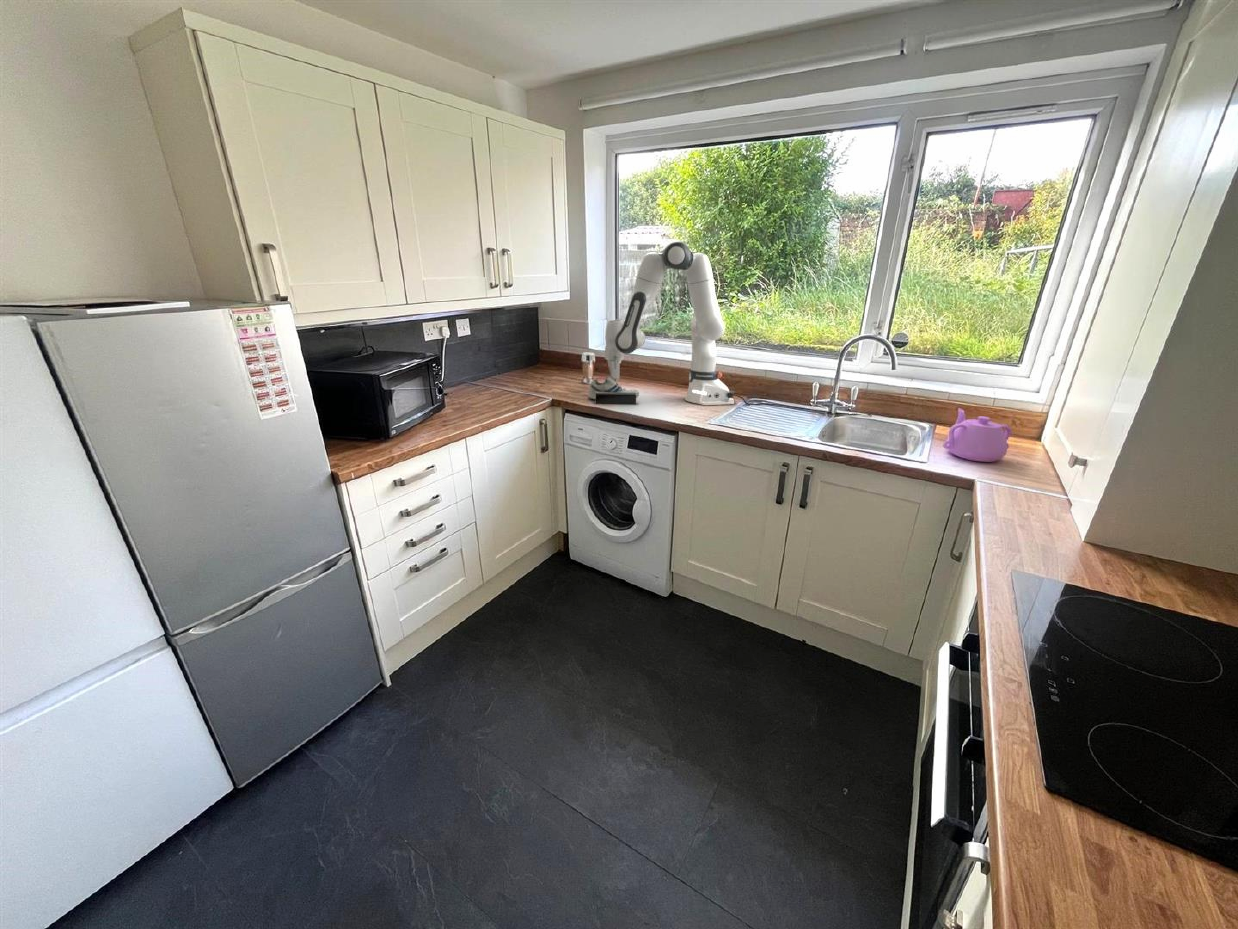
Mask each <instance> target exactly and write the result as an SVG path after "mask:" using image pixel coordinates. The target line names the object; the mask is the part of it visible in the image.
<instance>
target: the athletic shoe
mask: <svg viewBox="0 0 1238 929" xmlns="http://www.w3.org/2000/svg"><path fill="white" fill-rule="evenodd" d="M614 381H615V382H614ZM596 392H636V399H637V398H638V396H639V394H640V393H639V391H638V390H637V389H626V388H624V387H622V386H621V385H619V384H618V379H616V380H613V379H612V378H611V375H608V376H606V377H605V381H604V382H599V380H598V379H594V380H593V381H592V382H591V384H589V391H588V395H587V396H588V399H589V400H593V401H596Z"/></svg>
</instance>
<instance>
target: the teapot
mask: <svg viewBox="0 0 1238 929" xmlns="http://www.w3.org/2000/svg"><path fill="white" fill-rule="evenodd" d="M957 411H958V415H957V416H958V417H957V419H956V422H955V423H954V424H953V425H952V426H951V427H949V430H948V437H947V438H946V440H945V441H944V442H943V443H942V446H943V448H944V449H945V450H948V451H949V452H950V453H951V454H952V455H953V456H957V457H959V458H962V459H965V460H966V461H971V462H972V461H975V462H983V463H984V462H985V463H986V462H987V463H991V462H997V461H999V460H1001V459H1002V458H1004V457H1005V456H1006V455H1007V451H1008V449H1009V448H1010V447H1009V443H1008V440H1009V438H1010V436H1011V434H1012V429H1011V427H1010V426H1009V425H1007V424H999V423H996V422H993V421H990V420H991V418H990V417H988V416H983V415H979V416H977V419H975V418H969V419H966V412H965V411H964V409H962V408H961V407H957ZM1004 429H1005V431H1004Z"/></svg>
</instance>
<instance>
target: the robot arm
mask: <svg viewBox="0 0 1238 929" xmlns="http://www.w3.org/2000/svg"><path fill="white" fill-rule="evenodd" d="M670 269H673V270H681V271H683V272H684V273H685V276H686V284H687V289H688V290H687V291H688V295H689V302H690V305H691V307H692V310H693V313H694V315H693V317H692V318H691V320H690V324H689V325H690V336H691V363H690V368H689V373H688V387H687V392H686V394H685V397H684V400H685V401H687V402H689V403H692V404H697V405H701V406H719V405H723V406H724V405H734V404H735V399H734V397H737V398H740V399H741V400H742V401H743V402H744V404H745V405H748V406H760V405H763V406H764V405H767V406H776V407H784V408H791V409H798V410H804V411H812V412H818V413H825V414H830V413H829V412H830V411H829V410H828V411H829V412H828V411H827V410H820V409H814V408H807V407H802V406H795V405H790V404H789V405H787V404H779V403H770V402H758V403H750V402H747V401H746V400H745V398H744V397H742V396H741V395H739V394H736V393H735V390H730V389H729V387H728V386H727V385H726V384H725V383H724V382H723V381H722V380H720V378H722V377H723V373H721V372H720V371H717V369H716V367H717V358H718V357H717V356H718V352H717V346H716V341H717V340H719V339H721V338H722V337H723V336H724V334H725V332H726V324H725V322H724V321H723V320H724V319H723V317H722V312H721V309H720V306H719V302H718V300H717V294H716V288H715V280H714V274H713V270H712V266H711V262H710V259H709V257H708V255H707V254H706V253H703V252H695V253H694V252H693V251H691V250H690V248H689V247H688V245H687V244H686V243H685V242H684V241H682V240H680V239H679V240H677V239H675V240H672V241H669V242H668V243H667V244H666V245H665V247H664V248H663V249H662V250H661V252H653V251H652V252H647V253H646V254H645V255H644V256H643V258H642V261H641V263H640V265H639V268H638V272H637V275H636V277H635V282H634V286H633V292H632V296H631V299H630V303H629V306H628V309H627V312H626V314H625V318H624V319H622V318H618V319H617V318H616V319H611V320H609V321H608V322H607V323H606V327H605V336H604V337H605V347H604V360H606V361H607V365H608V371H609V376H611V378H612V379H613V380H619V379H620V371H621V370H620V368H621V367H620V366H621V365H620V364H622V361H624V360H625V355H629V354H632V353H634V352H635V351H636V350H638V349H640V348H642V347H643V346H644V344H645V342H646V334H645V332H644V331H643V330H642V329H640V328H639V326H640V323H641V320H642V317H643V315H644V314H643V313H644V311H645V310H646V309H647V307H648V306H649V305H650V304H651V303H653V301H655V300H656V298H657V296H658V294H659V292H660V290H661V287H662V283H663V280H664V276H665V274H666V272H667V271H668V270H670ZM614 382H615V381H614ZM834 412H835V413H834V414H833V415H843V416H859V415H861V414H857V413H858V412H857V413H852V412H851V413H852V414H849V412H837V411H834ZM867 415H868V416H869V415H871V416H872V414H871V413H869V414H867Z"/></svg>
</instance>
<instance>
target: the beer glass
mask: <svg viewBox="0 0 1238 929" xmlns="http://www.w3.org/2000/svg"><path fill="white" fill-rule="evenodd" d="M595 356H596V354H595V353H594V352H582V353H581V370H582V384H586V385H588V384H589V385H590V384H591V382H592V381H593V380H595V378H594V373H595V368H596V357H595Z"/></svg>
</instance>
